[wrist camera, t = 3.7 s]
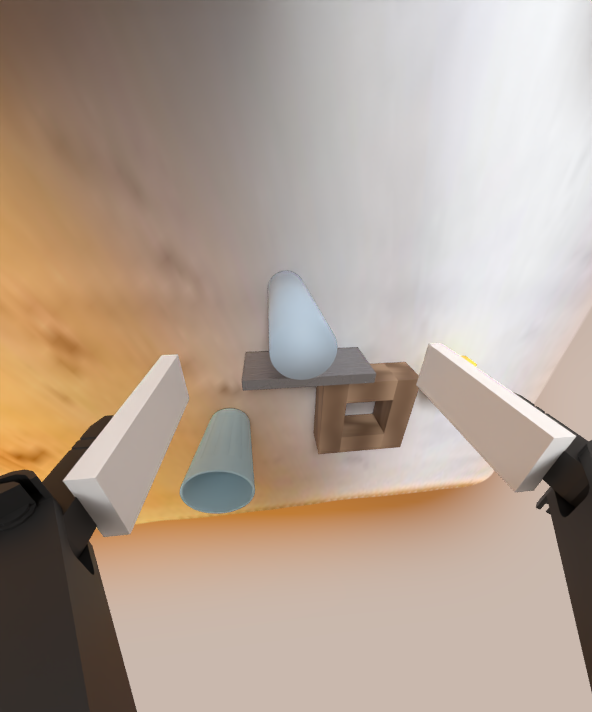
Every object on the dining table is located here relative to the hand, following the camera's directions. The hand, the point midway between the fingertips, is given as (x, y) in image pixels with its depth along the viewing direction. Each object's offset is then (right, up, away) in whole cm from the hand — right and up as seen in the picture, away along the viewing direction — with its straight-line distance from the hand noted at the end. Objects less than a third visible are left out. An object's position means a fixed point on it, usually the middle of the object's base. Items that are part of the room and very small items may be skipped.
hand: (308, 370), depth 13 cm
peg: (-2, +8, +13) cm, 16 cm away
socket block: (+8, -5, +22) cm, 24 cm away
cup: (-10, -9, +22) cm, 26 cm away
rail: (0, +1, +17) cm, 17 cm away
